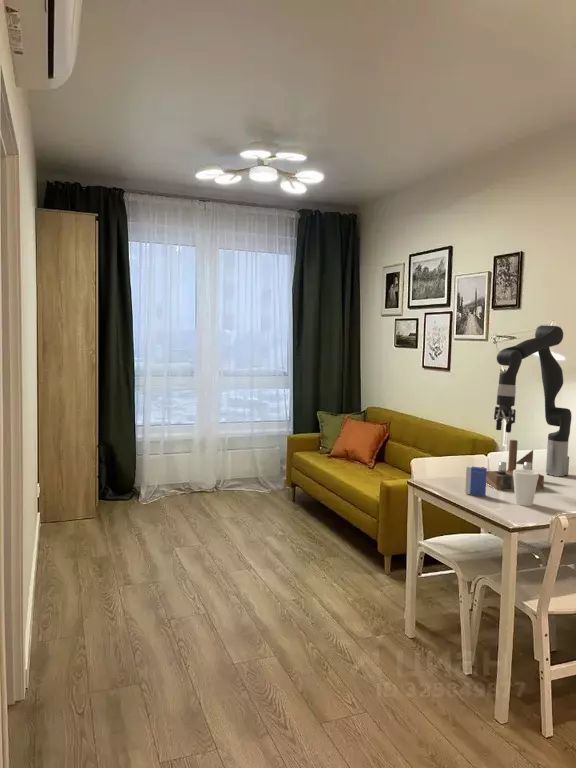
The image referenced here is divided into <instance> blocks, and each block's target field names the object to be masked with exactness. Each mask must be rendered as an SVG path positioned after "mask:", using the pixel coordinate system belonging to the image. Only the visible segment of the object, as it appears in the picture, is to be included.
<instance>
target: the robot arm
mask: <svg viewBox="0 0 576 768" xmlns="http://www.w3.org/2000/svg"><path fill="white" fill-rule="evenodd" d="M534 332H535V333H534V338H529V339H526V340H524V341H520V343H517V344H516V345H514V346H513V345H512V346H508V347H505V348H503V349H501V350H500V351H499V352H498V353H497V355H496V362H497V363H498V364H499V365H501V366H506V367H507V366H508V368H507V369H506V370H503V371H500V372H499V378H498V387H497V395H496V405H497V406H495V407H494V414H493V420H494V421H495V422H496V423H495V424H496V425H495V430H496V431H501V430H502V425H503V420H505V432H506V433H508V434H509V433H510V434H511V432H512V426H513V424H515V423H516V412H517V411H516V410H517V409H515V408H512V407H514V406H515V404H516V403H515V402H516V393H517V391H516V389H517V387H516V384H517V375H518V373H519V370H520V367H521V364H522V360H524V359H526V358H527V357H528V358H529V356H532V355H533V354H536V353H537V352H538V357H539V363H540V369H541V370H540V371H541V380H542V386H543V394H544V414H545V415H544V416H545V417H544V418H545V422H546V423H547V425H548V426H553V427H558V428H559V429H558V430H557V431H555V432H551V433H550V432H549V433H548V435H547V448H546V451H547V452H546V465H545V474H546V473H547V474H549V475H548V476H551V475H554V476H553V477H559V476H563V477H565V476H564V475H568V476H569V472H570V471H569V467H570V456H568V455H569V453H568V452H569V439H570V433H571V425H572V411H571V410H570V408H566V407H556V402H555V401H556V397H557V396H558V394H559V392H561V389H562V388H563V385H564V374H563V369H562V367H561V365H560V363H559V362H558V361H557V360H556V358H555V357H554V356H553V355H554V354H552V352H551V350H550V349H551V348H552V347H555V346H558V345H560V344H561V343H562V341H563V339H564V331H563V328H562V327H560V326H557V325H539V326H537V327H536V329H535V331H534ZM547 474H546V475H547Z"/></svg>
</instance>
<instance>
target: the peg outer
mask: <svg viewBox="0 0 576 768" xmlns="http://www.w3.org/2000/svg"><path fill="white" fill-rule="evenodd" d="M497 471H498V474H500V475H506V471H507V462H506V461H499V462H498V470H497Z"/></svg>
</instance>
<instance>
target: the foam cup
mask: <svg viewBox="0 0 576 768" xmlns="http://www.w3.org/2000/svg"><path fill="white" fill-rule="evenodd" d="M539 474H540V473H539V472H538V471H535V470H533V469H532V470H525V469H523V468H516V470H513V478H514V490H513V491H514V500H515V504H516V505H519V506H523V507H531V506H533V504H534V500H535V495H536V491H537V490H536V486H537V481H538V478H539Z"/></svg>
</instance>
